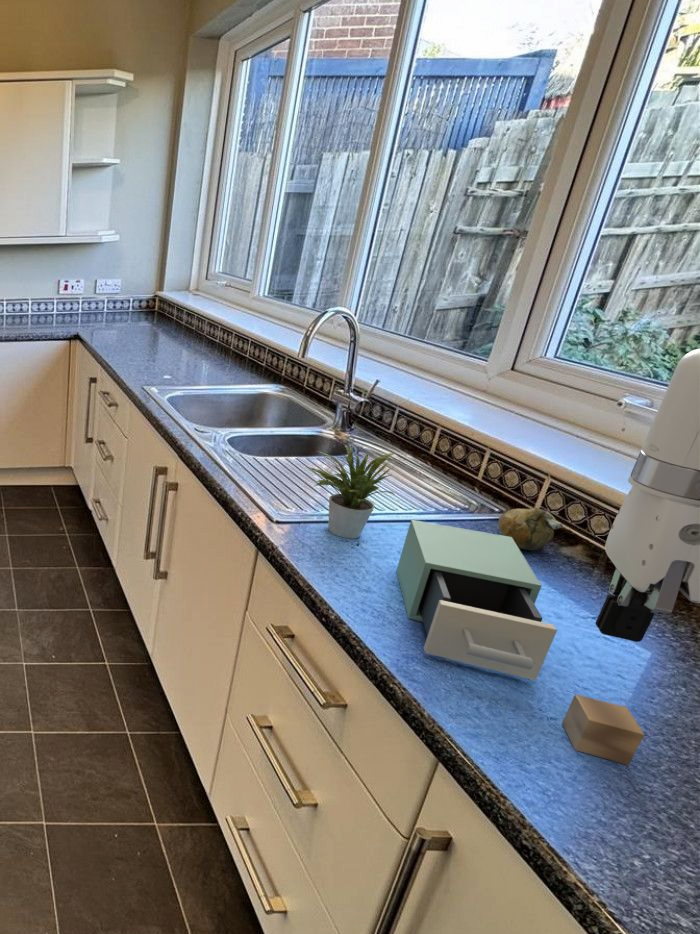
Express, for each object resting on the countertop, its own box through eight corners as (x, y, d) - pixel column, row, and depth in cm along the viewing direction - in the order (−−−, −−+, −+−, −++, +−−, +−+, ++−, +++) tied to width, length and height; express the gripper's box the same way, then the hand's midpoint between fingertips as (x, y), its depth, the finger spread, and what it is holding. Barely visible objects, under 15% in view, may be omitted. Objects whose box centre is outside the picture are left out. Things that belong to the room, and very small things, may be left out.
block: (612, 737, 70) (627, 707, 68) (628, 765, 66) (645, 734, 65) (561, 723, 72) (574, 693, 70) (574, 750, 68) (589, 719, 67)
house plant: (335, 506, 125) (353, 430, 119) (407, 536, 113) (431, 454, 107) (286, 521, 119) (303, 442, 113) (357, 554, 107) (380, 468, 101)
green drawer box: (518, 644, 85) (541, 585, 81) (408, 618, 91) (425, 562, 87) (492, 590, 97) (511, 536, 93) (396, 570, 102) (411, 519, 99)
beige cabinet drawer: (548, 707, 73) (571, 654, 70) (430, 676, 78) (448, 625, 75) (507, 621, 88) (524, 575, 85) (410, 600, 93) (424, 555, 90)
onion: (547, 542, 110) (563, 502, 107) (550, 561, 104) (566, 519, 101) (492, 530, 115) (506, 491, 112) (492, 547, 109) (506, 506, 106)
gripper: (795, 518, 52) (700, 690, 58) (707, 459, 64) (637, 607, 70) (668, 499, 55) (593, 664, 62) (608, 446, 67) (550, 589, 74)
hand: (617, 633), depth 66 cm, fingers closed
